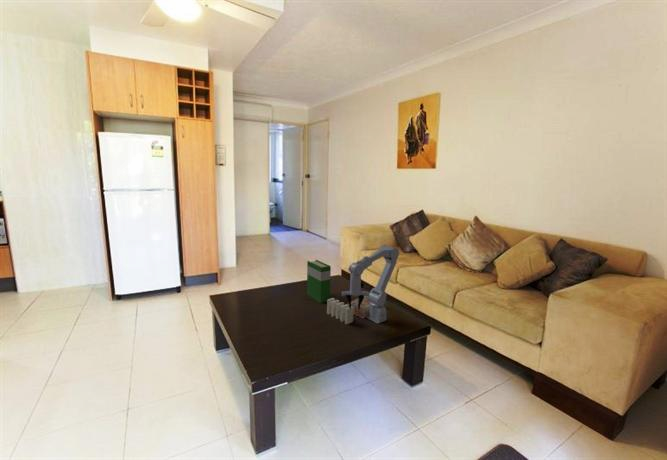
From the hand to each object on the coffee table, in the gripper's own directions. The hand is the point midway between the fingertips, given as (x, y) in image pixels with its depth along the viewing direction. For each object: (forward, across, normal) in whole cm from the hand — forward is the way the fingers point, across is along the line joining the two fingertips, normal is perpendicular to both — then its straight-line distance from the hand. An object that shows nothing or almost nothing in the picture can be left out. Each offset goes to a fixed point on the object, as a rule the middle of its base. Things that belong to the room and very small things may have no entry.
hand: (354, 307), depth 176 cm
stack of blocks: (+7, -6, -24) cm, 26 cm away
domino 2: (+10, +10, -13) cm, 19 cm away
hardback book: (+11, +19, -40) cm, 46 cm away
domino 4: (+10, +5, -6) cm, 13 cm away
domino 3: (+10, +7, -10) cm, 16 cm away
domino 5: (+10, +2, -3) cm, 11 cm away
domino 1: (+10, +12, -16) cm, 23 cm away
